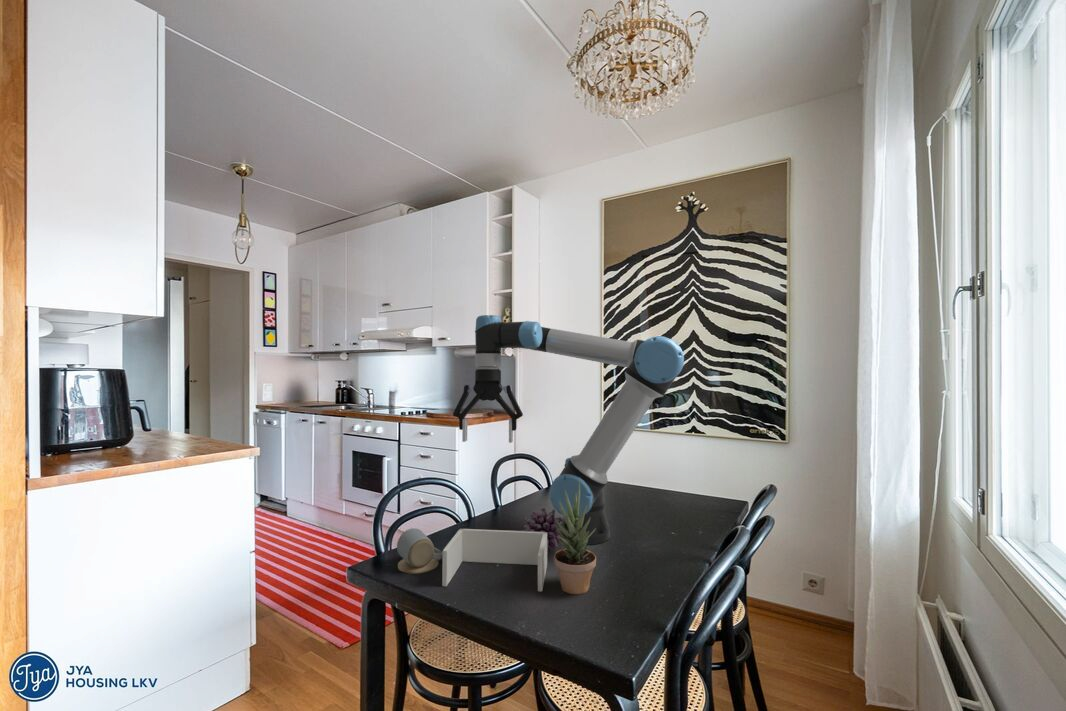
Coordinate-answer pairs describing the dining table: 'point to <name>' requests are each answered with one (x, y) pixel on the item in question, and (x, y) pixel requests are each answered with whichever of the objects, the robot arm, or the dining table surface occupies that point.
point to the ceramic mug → (417, 548)
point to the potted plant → (574, 550)
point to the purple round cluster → (545, 526)
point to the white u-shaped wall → (495, 550)
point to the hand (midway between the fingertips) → (487, 441)
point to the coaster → (407, 568)
